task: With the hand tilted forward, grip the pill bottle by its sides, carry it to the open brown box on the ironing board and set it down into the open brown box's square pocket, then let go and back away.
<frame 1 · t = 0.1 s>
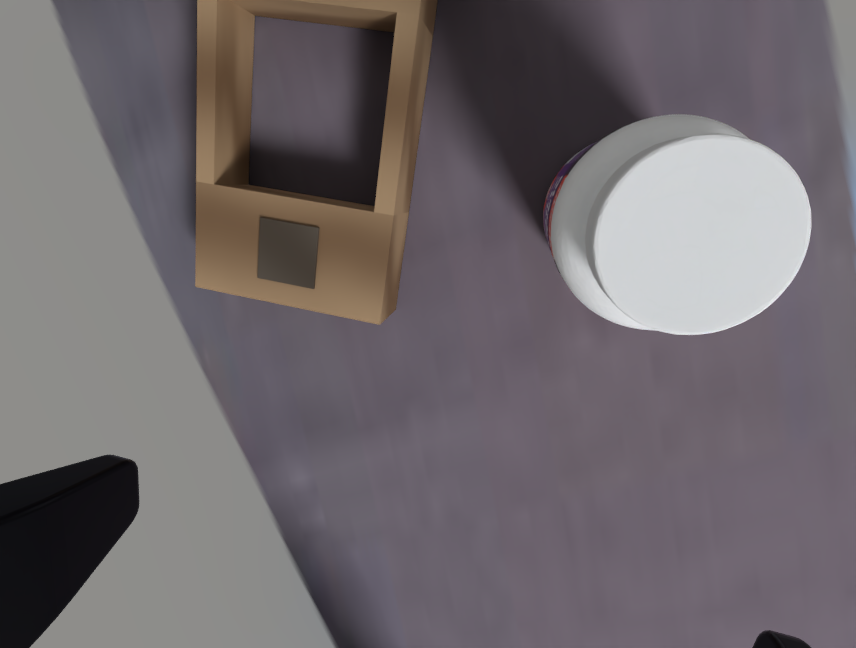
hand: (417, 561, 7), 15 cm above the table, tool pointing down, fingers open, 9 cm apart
open brown box: (325, 114, 20), on the table
pill bottle: (613, 213, 19), on the table
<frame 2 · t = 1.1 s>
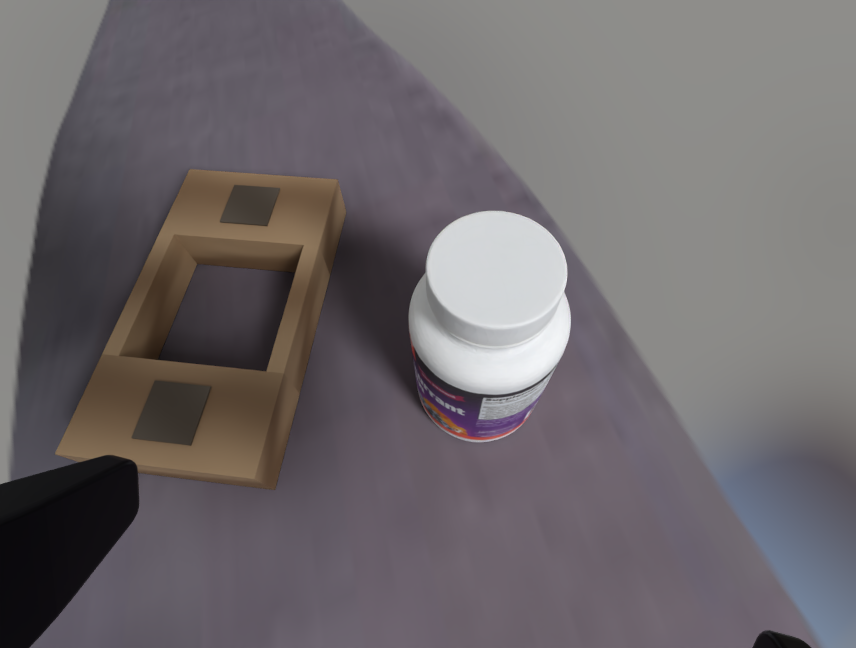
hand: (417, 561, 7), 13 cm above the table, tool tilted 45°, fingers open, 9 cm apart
open brown box: (237, 323, 24), on the table
pill bottle: (476, 388, 22), on the table
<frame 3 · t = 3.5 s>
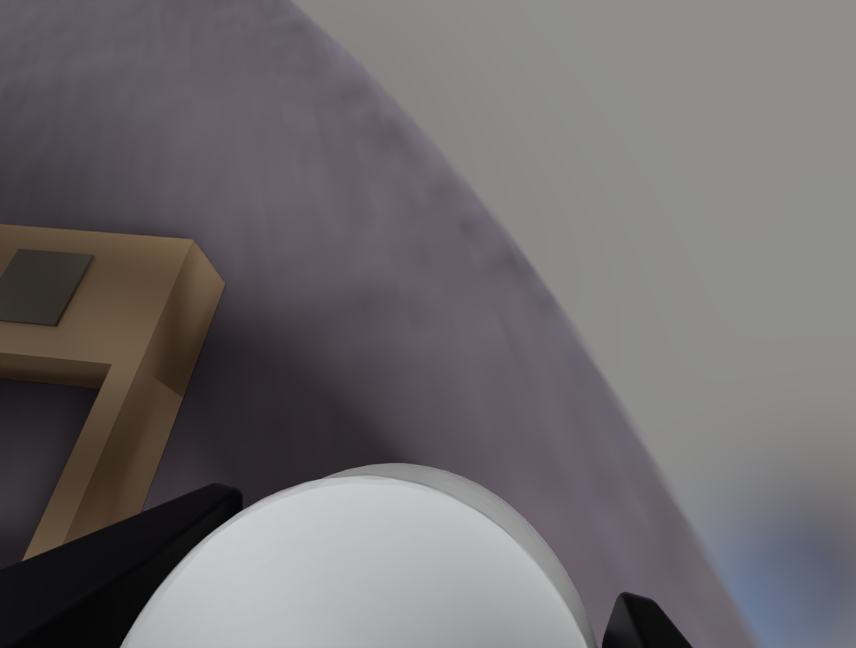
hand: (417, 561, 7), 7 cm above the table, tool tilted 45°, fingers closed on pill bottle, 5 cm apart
open brown box: (10, 491, 14), on the table
pill bottle: (415, 630, 12), on the table, touching gripper
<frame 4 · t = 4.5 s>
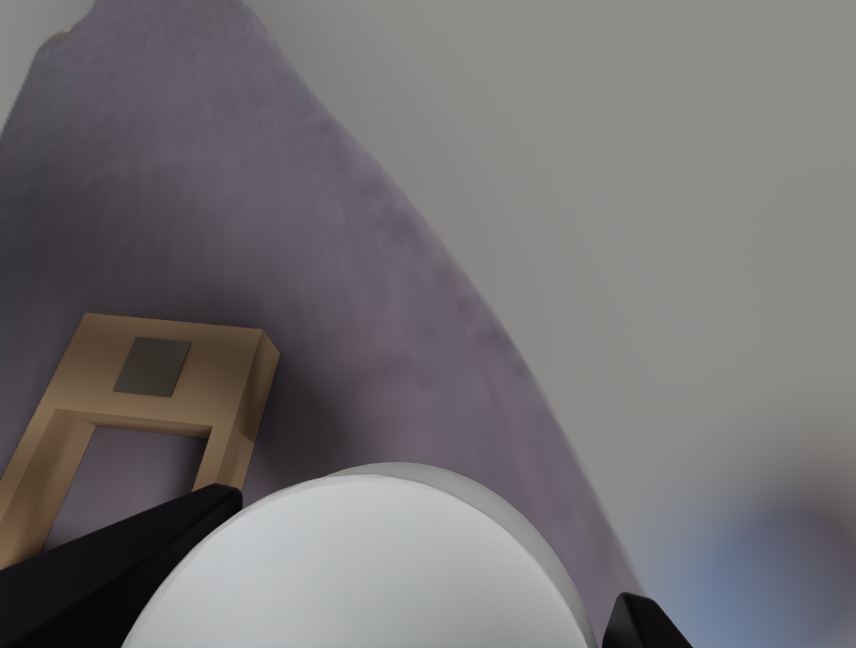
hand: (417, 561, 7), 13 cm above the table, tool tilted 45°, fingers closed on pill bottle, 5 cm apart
open brown box: (136, 512, 20), on the table
pill bottle: (416, 629, 12), point 6 cm above the table, touching gripper
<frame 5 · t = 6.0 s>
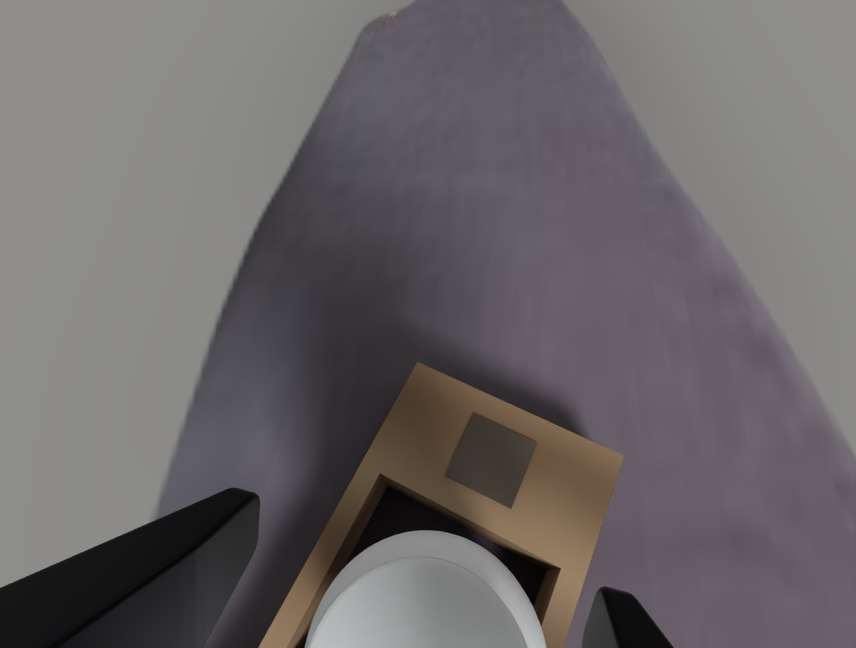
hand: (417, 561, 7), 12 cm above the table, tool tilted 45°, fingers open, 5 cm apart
open brown box: (423, 616, 17), on the table
pill bottle: (433, 631, 17), resting in open brown box
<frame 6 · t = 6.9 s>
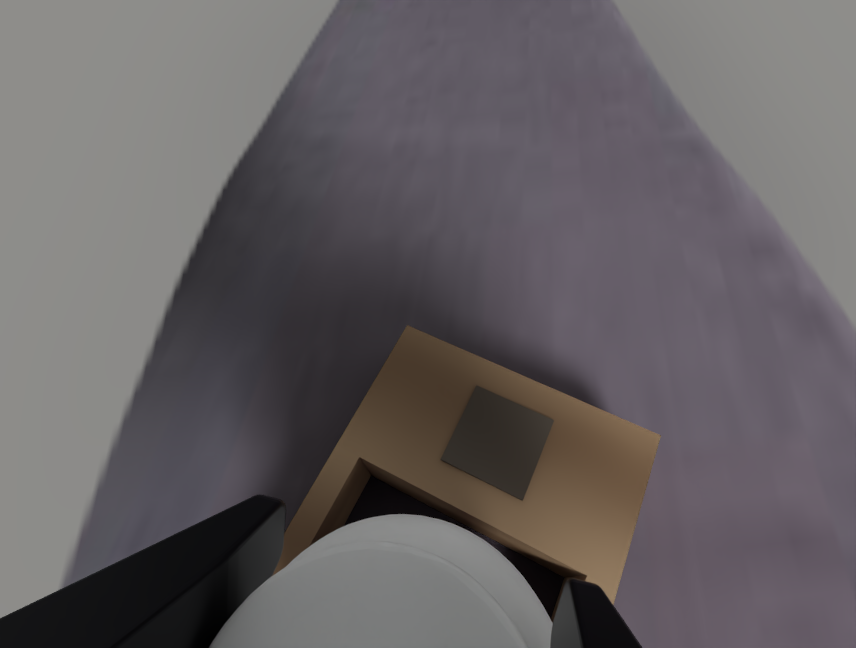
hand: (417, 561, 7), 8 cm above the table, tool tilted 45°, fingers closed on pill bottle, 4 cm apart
open brown box: (413, 636, 14), on the table
when the fingers open (8 cm above the table, at t = 6.9 s): pill bottle stays where it is, resting in open brown box.
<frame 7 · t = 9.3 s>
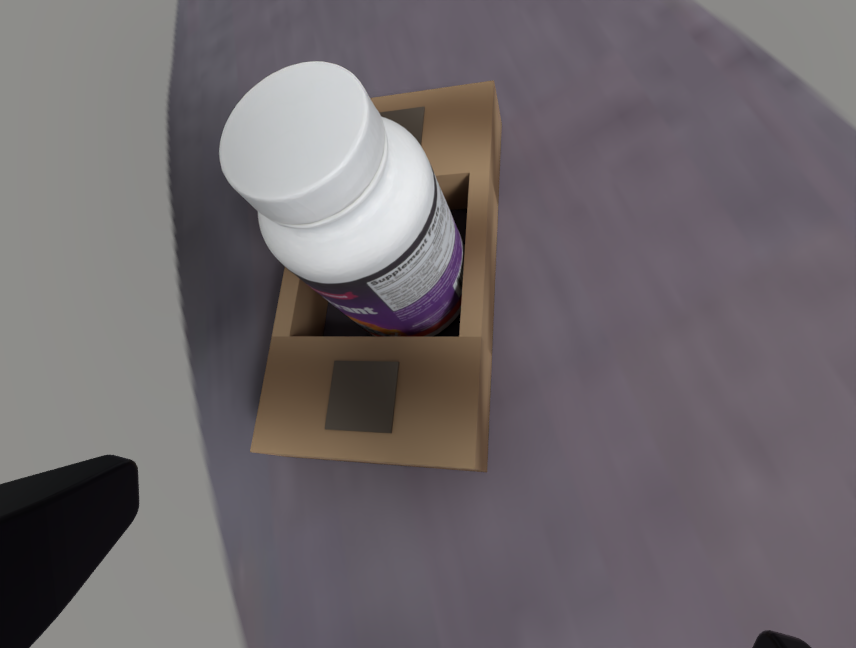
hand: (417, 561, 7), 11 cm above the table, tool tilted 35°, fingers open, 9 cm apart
open brown box: (400, 280, 21), on the table
pill bottle: (412, 287, 21), resting in open brown box
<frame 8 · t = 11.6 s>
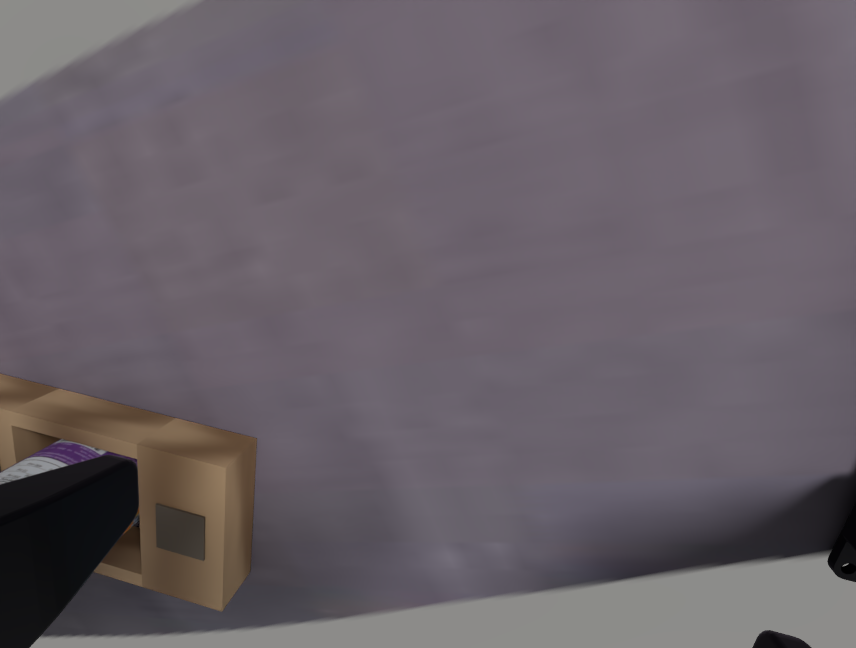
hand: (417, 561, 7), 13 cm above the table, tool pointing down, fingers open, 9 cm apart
open brown box: (120, 471, 25), on the table
pill bottle: (127, 462, 25), resting in open brown box
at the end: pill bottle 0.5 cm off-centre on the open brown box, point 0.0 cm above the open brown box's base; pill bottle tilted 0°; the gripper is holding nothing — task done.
